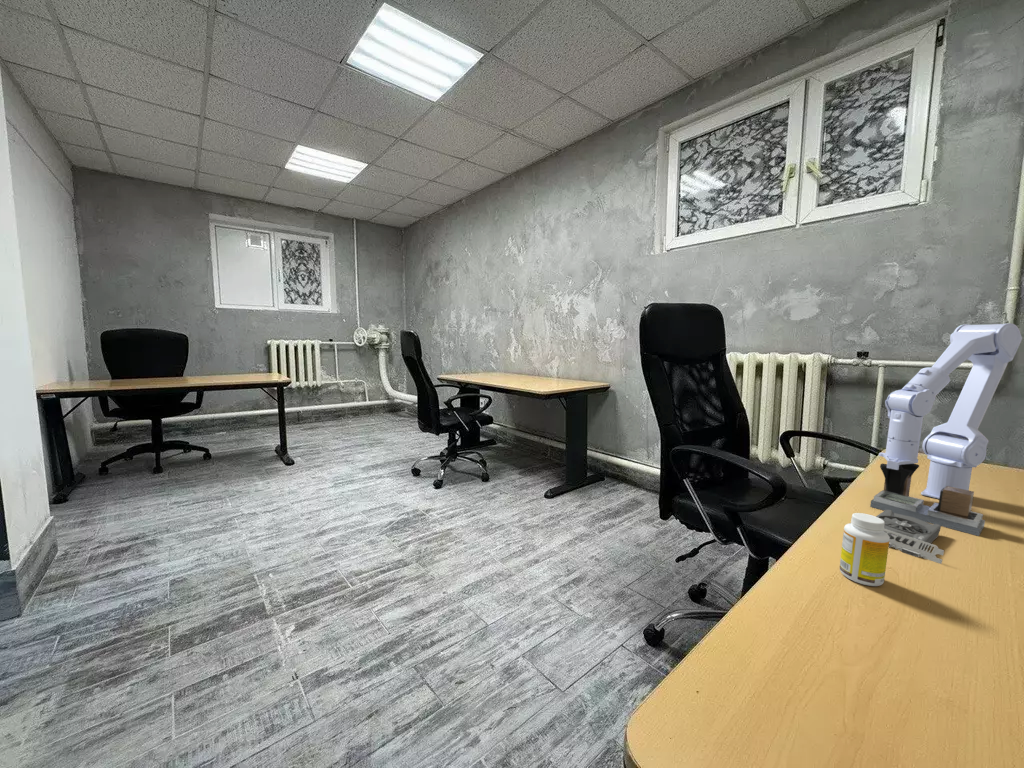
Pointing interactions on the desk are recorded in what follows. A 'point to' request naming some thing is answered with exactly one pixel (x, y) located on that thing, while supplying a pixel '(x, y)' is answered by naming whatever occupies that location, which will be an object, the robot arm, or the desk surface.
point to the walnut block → (905, 488)
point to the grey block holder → (936, 509)
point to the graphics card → (911, 535)
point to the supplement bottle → (864, 550)
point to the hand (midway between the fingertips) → (896, 492)
